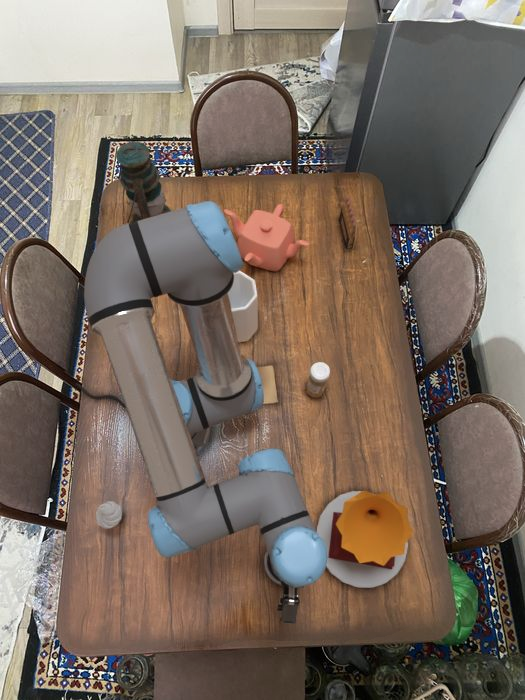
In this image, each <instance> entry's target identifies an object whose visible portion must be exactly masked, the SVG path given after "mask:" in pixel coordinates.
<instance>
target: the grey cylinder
mask: <svg viewBox="0 0 525 700" xmlns="http://www.w3.org/2000/svg"><path fill="white" fill-rule="evenodd" d="M263 558H264V559H263V566H264V570H265V573H266V575H267V576H268V578H269V579H271V580H272V581H273V582H274V583H275V584H276V585H277V584H278V585H280V586H282V585H281V580H280V579H279V578H278V577H277V576H276V575H275V574H274V572H273V570H272V567H271V559H270V556H269V553H268V550H267V549H266V552H265V555H264V557H263Z"/></svg>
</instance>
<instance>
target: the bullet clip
mask: <svg viewBox="0 0 525 700" xmlns="http://www.w3.org/2000/svg"><path fill="white" fill-rule="evenodd" d="M338 222H339V226H340V231H341V235H342V239H343V243H344V248H345V250H353V247H354V244H355V240H356V236H355V235H356V232H357V225H358V224H357V220H356V215H355V212H354V209H353V204H352V199H351V196H350V193H348V194H347V195H346V197H345V200H344V202H343V204H342V208H341V209H340V212H339V217H338Z"/></svg>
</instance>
